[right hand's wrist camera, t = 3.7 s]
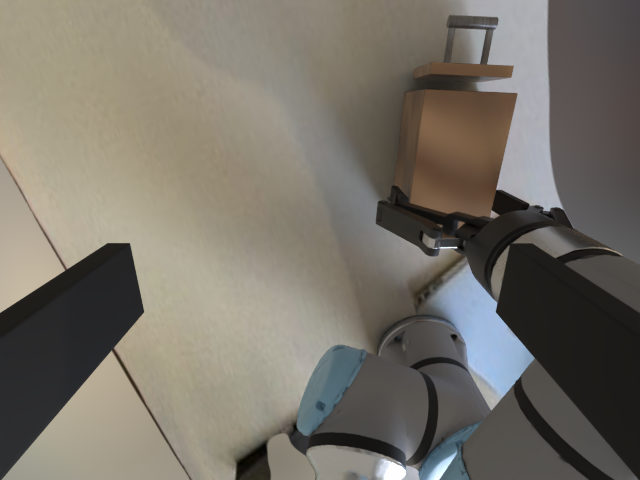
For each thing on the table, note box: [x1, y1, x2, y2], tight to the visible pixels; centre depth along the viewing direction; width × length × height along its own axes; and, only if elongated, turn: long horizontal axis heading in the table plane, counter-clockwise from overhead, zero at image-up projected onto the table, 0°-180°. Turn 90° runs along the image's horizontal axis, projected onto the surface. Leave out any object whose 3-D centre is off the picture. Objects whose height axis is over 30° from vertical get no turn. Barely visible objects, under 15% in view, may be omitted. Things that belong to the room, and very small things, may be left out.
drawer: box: [413, 15, 514, 90], centre depth 44 cm, size 21×9×8 cm, turn 178°
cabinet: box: [394, 89, 517, 228], centre depth 47 cm, size 18×10×10 cm, turn 178°
